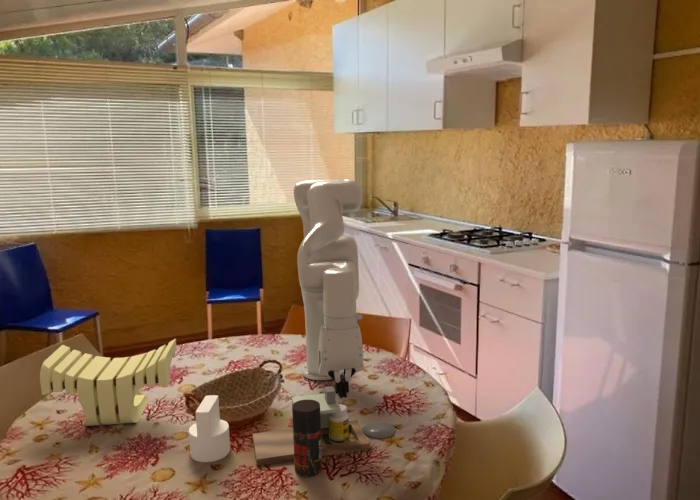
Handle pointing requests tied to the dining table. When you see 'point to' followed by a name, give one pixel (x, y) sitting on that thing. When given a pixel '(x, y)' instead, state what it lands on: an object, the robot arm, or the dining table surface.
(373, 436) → the coaster
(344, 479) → the dining table surface
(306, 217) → the robot arm
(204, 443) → the base with upright slab
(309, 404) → the deodorant
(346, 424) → the supplement bottle
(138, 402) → the slatted curved stool
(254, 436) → the board
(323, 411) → the cover
